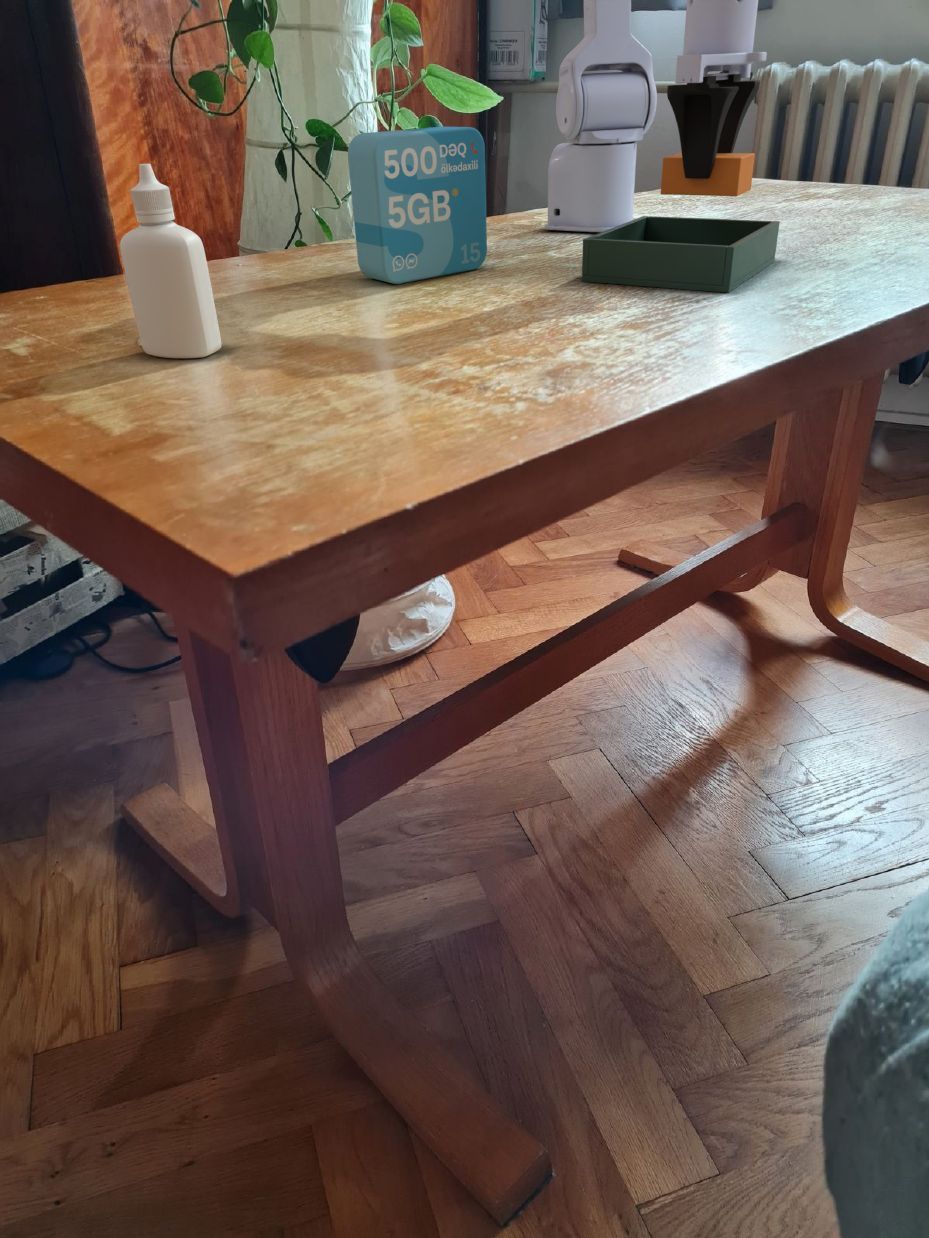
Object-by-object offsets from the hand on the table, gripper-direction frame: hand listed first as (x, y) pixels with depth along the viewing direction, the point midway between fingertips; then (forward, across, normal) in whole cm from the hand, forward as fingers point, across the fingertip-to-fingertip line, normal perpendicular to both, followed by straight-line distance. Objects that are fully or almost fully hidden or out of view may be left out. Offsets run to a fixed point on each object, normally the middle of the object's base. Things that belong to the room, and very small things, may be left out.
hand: (706, 175), depth 80 cm
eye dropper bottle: (+8, -43, +23) cm, 50 cm away
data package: (+8, -13, +22) cm, 27 cm away
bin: (+8, -4, 0) cm, 9 cm away
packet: (+1, 0, 0) cm, 1 cm away
